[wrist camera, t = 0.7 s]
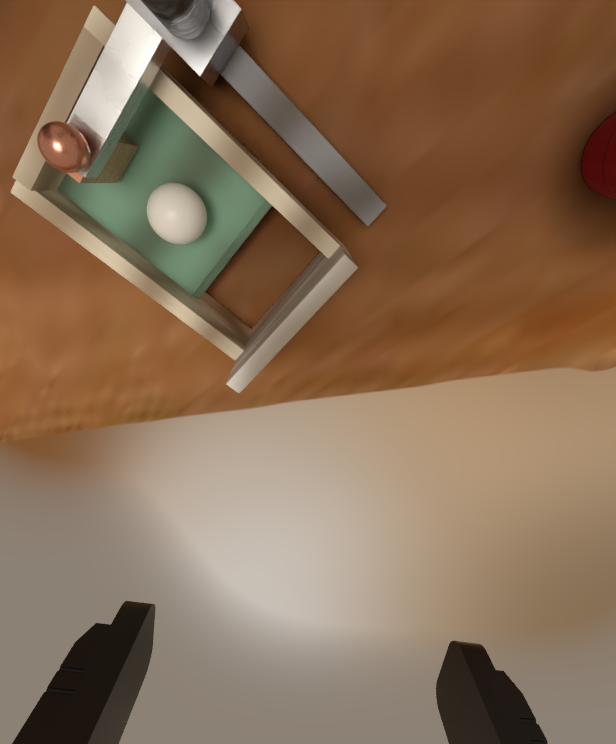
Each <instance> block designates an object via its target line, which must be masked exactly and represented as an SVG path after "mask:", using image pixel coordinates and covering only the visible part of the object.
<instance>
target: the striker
mask: <svg viewBox="0 0 616 744" xmlns="http://www.w3.org/2000/svg"><path fill="white" fill-rule="evenodd" d="M125 1H126V2H127V4H126V6H125V8H124V10H123V12H122V14H121V16H120V18H119V20H118V22H117V24H116V26H115V28H114V30H113V32H112V34H111V36H110V38H109V40H108V42H107V44H106V46H105V48H104V50H103V52H102V54H101V56H100V58H99V60H98V62H97V64H96V66H95V68H94V70H93V72H92V74H91V76H90V78H89V80H88V82H87V84H86V86H85V88H84V90H83V92H82V94H81V96H80V98H79V100H78V101H77V103H76V105H75V107H74V109H73V111H72V113H71V115H70V117H69V119H68V121H67V123H64V122H60V121H53V122H49V123H47V124H45V125H44V126H42V127H41V129H40V131H39V133H38V136H37V143H38V147H39V150H40V152H41V154H42V156H43V157H44V159H45V160H46V161H47V162H48V163H49V164H50V165H51V166H53V167H54V168H56V169H58V170H60V171H63V172H66V173H67V174H69V175H70V176H71V177H72V178H74V179H75V180H76V181H77V182H79V183H118V182H119V180H120V178H121V177H122V175H123V173H124V172H125V170H126V168H127V167H128V165H129V163H130V162H131V160H132V158H133V156H134V155H135V153H136V151H137V150H138V148H139V146H138V145H137V144H136V143H135V142H134V141H132V140H131V139H130V138H129V137H128V136H127V135H126V134H125V133H123V132H124V131H125V129H126V127H127V125H128V124H129V122H130V120H131V118H132V117H133V115H134V113H135V111H136V110H137V108H138V106H139V104H140V103H141V101H142V99H143V97H144V96H145V94H146V92H147V90H148V88H149V87H150V85H151V83H152V81H153V80H154V78H155V76H156V74H157V73H158V71H159V69H160V67H161V66H162V64H163V62H164V60H165V59H166V57H167V55H168V53H169V51H170V50H171V48H173V49H174V50H175V51H176V52H177V54H178V55H179V56H180V57H181V58H182V59H183V60H184V61H185V62H186V63H187V64H188V65H189V66H190V67H191V68H192V69H193V70H194V71H195V72H196V73H197V74H198V75H199V76H200V77H201V78H202V79H203V80H204V81H205V82H206V83H207V84H208V85H209V86H210V87H211V88H212V86H213V85H214V83H215V82H216V80H217V78H218V77H219V75H220V74H221V72H222V71H223V69H224V67H225V66H226V64H227V63H228V61H229V59H230V58H231V56H232V55H233V53H234V51H235V50H236V48H237V47H238V45H239V44H240V42H241V40H242V39H243V37H244V36H245V34H246V32H247V31H248V29H249V28H248V26H247V23H246V20H245V18H244V15H243V12H242V9H241V8H240V7H239V6H238V5H237V3H236V2H235V1H234V0H125Z"/></svg>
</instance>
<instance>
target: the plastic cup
mask: <svg viewBox="0 0 616 744" xmlns="http://www.w3.org/2000/svg"><path fill="white" fill-rule="evenodd" d="M581 167H582V175H583V179H584V180H585V182H586V183H587V185H588V186H589V187H590V188H591V189H593V191H595V192H597V193H600V194H602V195H604V196H607V197H610V198H613V199H616V112H615V113H614V114H613V115H612V116H610V117H608V118H607V119H606V120H605V121H604V122H603V123H602V124H601V125H600V126H599V127H598V128H597V129H596V130H595V131H594V132H593V134H592V136H591V137H590V139H589V141H588V143H587V144H586V146H585V149H584V153H583V157H582V161H581Z"/></svg>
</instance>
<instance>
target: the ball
mask: <svg viewBox="0 0 616 744" xmlns="http://www.w3.org/2000/svg"><path fill="white" fill-rule="evenodd" d="M147 217H148V220H149V223H150V225H151V227H152V228H153V230H154V231H155V232H156V233H157V234H158V235H159V236H160V237H161V238H162V239H164V240H166V241H167V242H170V243H173V244H179V245H183V244H188V243H191V242H194V241H195V240H197V239H198V238H199V237H200V236H201V235H202V233H203V232H204V230H205V227H206V224H207V212H206V208H205V205H204V203H203V201H202V199H201V198H200V196H199V195H198V194H197V193H196V192H195V191H194V190H192V189H191V188H190V187H188V186H186V185H183V184H180V183H166V184H163V185H161V186H159V187H158V188H156V189H155V190H154V191H153V192H152V194H151V195H150V197H149V199H148V203H147Z"/></svg>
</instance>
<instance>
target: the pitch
mask: <svg viewBox="0 0 616 744" xmlns="http://www.w3.org/2000/svg"><path fill="white" fill-rule="evenodd" d="M115 26H116V23H115V22H114V21H113V20H111V19H110V18H109V17H108V16H107V15H105V14H104V13H103V12H102V11H101V10H99V9H98V8H97V7H96V6H95V5H94V6H93V8H92V10H91V12H90V14H89V16H88V18H87V21H86V23H85V25H84V27H83V29H82V31H81V33H80V35H79V37H78V40H77V42H76V44H75V46H74V48H73V50H72V52H71V54H70V56H69V59H68V61H67V63H66V65H65V67H64V69H63V71H62V73H61V75H60V78H59V80H58V82H57V84H56V86H55V88H54V90H53V92H52V94H51V96H50V99H49V101H48V103H47V105H46V107H45V109H44V111H43V113H42V115H41V118H40V120H39V122H38V124H37V126H36V128H35V130H34V132H33V134H32V137H31V139H30V141H29V143H28V145H27V147H26V149H25V151H24V153H23V156H22V158H21V160H20V162H19V164H18V166H17V168H16V170H15V172H14V175H13V178H14V179H15V180H16V182H15V184H14V186H13V188H12V190H11V193H12V194H14V195H15V196H16V197H18V198H19V199H20V200H22V201H23V202H24V203H26V204H27V205H28V206H30V207H31V208H32V209H34V210H35V211H36V212H38V213H39V214H40V215H42V216H43V217H44V218H46V219H47V220H48V221H50V222H51V223H52V224H54V225H55V226H56V227H58V228H59V229H60V230H62V231H63V232H64V233H66V234H67V235H68V236H70V237H71V238H72V239H74V240H75V241H76V242H78V243H79V244H80V245H82V246H83V247H84V248H86V249H87V250H88V251H90V252H91V253H92V254H94V255H95V256H96V257H98V258H99V259H100V260H102V261H103V262H104V263H106V264H107V265H108V266H110V267H111V268H112V269H114V270H115V271H116V272H118V273H119V274H120V275H122V276H123V277H124V278H126V279H127V280H128V281H130V282H131V283H132V284H134V285H135V286H136V287H138V288H139V289H140V290H142V291H143V292H144V293H146V294H147V295H148V296H150V297H151V298H152V299H154V300H155V301H156V302H158V303H159V304H160V305H162V306H163V307H164V308H166V309H167V310H168V311H170V312H171V313H172V314H174V315H175V316H176V317H178V318H179V319H180V320H182V321H183V322H184V323H186V324H187V325H188V326H190V327H191V328H192V329H194V330H195V331H196V332H198V333H199V334H200V335H202V336H203V337H204V338H206V339H207V340H208V341H210V342H211V343H212V344H214V345H215V346H216V347H218V348H219V349H220V350H222V351H223V352H224V353H226V354H227V355H228V356H230V357H231V358H232V359H234V360H235V363H234V365H233V368H232V370H231V373H230V375H229V378H228V381H227V383H226V384H227V385H228V386H229V387H231V388H232V389H234V390H235V391H236V392H238V393H240V392H241V391H242V390H243V389H244V388H245V387H246V386H247V385H248V384H249V383H250V382H251V380H252V379H253V378H254V377H255V376H256V375H257V374H258V373H259V372H260V371H261V370H262V369H263V368H264V367H265V366H266V365H267V364H268V362H269V361H270V360H271V359H272V358H273V357H274V356H275V355H276V354H277V353H278V352H279V351H280V350H281V349H282V348H283V347H284V346H285V345H286V343H287V342H288V341H289V340H290V339H291V338H292V337H293V336H294V335H295V334H296V333H297V332H298V331H299V330H300V329H301V328H302V327H303V325H304V324H305V323H306V322H307V321H308V320H309V319H310V318H311V317H312V316H313V315H314V314H315V313H316V312H317V311H318V310H319V309H320V308H321V306H322V305H323V304H324V303H325V302H326V301H327V300H328V299H329V298H330V297H331V296H332V295H333V294H334V293H335V292H336V291H337V290H338V288H339V287H340V286H341V285H342V284H343V283H344V282H345V281H346V280H347V279H348V278H349V277H350V276H351V275H352V274H353V273H354V272H355V271H356V269H357V268H358V267H357V265H356V263H355V262H354V260H353V258H352V257H351V255H350V254H349V252H348V250H347V249H346V247H345V245H343V244H342V243H341V242H340V241H339V240H338V239H337V238H336V237H335V236H334V235H333V234H332V233H331V232H330V231H329V230H328V229H327V228H326V227H325V226H324V225H323V224H322V223H321V222H320V221H319V220H318V219H317V218H316V217H315V216H314V215H313V214H312V213H311V212H310V211H309V210H308V209H307V208H306V207H305V206H304V205H303V204H302V203H301V202H300V201H299V200H298V199H297V198H296V197H295V196H294V195H293V194H292V193H291V192H290V191H289V190H288V189H287V188H286V187H285V186H284V185H283V184H282V183H281V182H280V181H279V180H277V179H276V178H275V177H274V176H273V175H272V174H271V173H270V172H269V171H268V170H267V169H266V168H265V167H264V166H263V165H262V164H261V163H260V162H259V161H258V160H257V159H256V158H255V157H254V156H253V155H252V154H251V153H250V152H249V151H248V150H247V149H246V148H245V147H244V146H243V145H242V144H241V143H240V142H239V141H238V140H237V139H236V138H235V137H234V136H233V135H232V134H231V133H230V132H229V131H228V130H227V129H226V128H225V127H224V126H223V125H222V124H221V123H220V122H219V121H218V120H217V119H216V118H215V117H214V116H212V115H211V114H210V113H209V112H208V111H207V110H206V109H205V108H204V107H203V106H202V105H201V104H200V103H199V102H198V101H197V100H196V99H195V98H194V97H193V96H192V95H191V94H190V93H189V92H188V91H187V90H186V89H185V88H184V87H183V86H182V85H181V84H180V83H179V82H178V81H177V80H176V79H175V78H174V77H173V76H172V75H171V74H170V73H169V72H168V71H167V70H166V69H165V68H164V67H163V66H161V67H160V69H159V71H158V73H157V74H156V76H155V78H154V80H153V81H152V83H151V85H150V87H149V88H148V90H147V92H146V94H145V96H144V97H143V99H142V101H141V103H140V104H139V106H138V108H137V110H136V111H135V113H134V115H133V117H132V118H131V120H130V122H129V124H128V125H127V127H126V129H125V131H124V132H123V133H125V134H126V135H127V136H128V137H129V138H130V139H131V140H132V141H134V142H135V143H136V144H137V145H138V146H139V148H138V150H137V151H136V153H135V155H134V156H133V158H132V160H131V162H130V163H129V165H128V167H127V168H126V170H125V172H124V173H123V175H122V177H121V178H120V180H119V182H118V183H79V182H77V181H76V180H75V179H74V178H72V177H71V176H70V175H69V174H67V173H66V172H63V171H60V170H58V169H56V168H54V167H53V166H51V165H50V164H49V163H48V162H47V161H46V160H45V159H44V157H43V156H42V154H41V152H40V150H39V147H38V143H37V136H38V133H39V131H40V129H41V127H42V126H44V125H45V124H47V123H49V122H53V121H60V122H64V123H67V121H68V119H69V117H70V115H71V113H72V111H73V109H74V107H75V105H76V103H77V101H78V100H79V98H80V96H81V94H82V92H83V90H84V88H85V86H86V84H87V82H88V80H89V78H90V76H91V74H92V72H93V70H94V68H95V66H96V64H97V62H98V60H99V58H100V56H101V54H102V52H103V50H104V48H105V46H106V44H107V42H108V40H109V38H110V36H111V34H112V32H113V30H114V28H115ZM220 75H221V76H222V77H223V78H224V80H225V81H226V82H227V83H228V84H229V85H230V86H231V87H232V88H233V89H234V90H235V91H236V92H237V93H238V94H239V95H240V96H241V97H242V98H243V99H244V100H245V101H246V102H247V103H248V104H249V105H250V106H251V107H252V108H253V110H254V111H255V112H256V113H257V114H258V115H259V116H260V117H261V118H262V119H263V120H264V121H265V122H266V123H267V124H268V125H269V126H270V127H271V128H272V129H273V130H274V131H275V132H276V133H277V134H278V135H279V136H280V137H281V138H282V140H283V141H284V142H285V143H286V144H287V145H288V146H289V147H290V148H291V149H292V150H293V151H294V152H295V153H296V154H297V155H298V156H299V157H300V158H301V159H302V160H303V161H304V162H305V163H306V164H307V165H308V166H309V167H310V168H311V170H312V171H313V172H314V173H315V174H316V175H317V176H318V177H319V178H320V179H321V180H322V181H323V182H324V183H325V184H326V185H327V186H328V187H329V188H330V189H331V190H332V191H333V192H334V193H335V194H336V195H337V196H338V197H339V199H340V200H341V201H342V202H343V203H344V204H345V205H346V206H347V207H348V208H349V209H350V210H351V211H352V212H353V213H354V214H355V215H356V216H357V217H358V218H359V219H360V220H361V221H362V222H363V223H364V224H365V225H366V226H369V225H370V224H371V223H372V222H373V220H374V219H375V218H376V217H377V216H378V215H379V214H380V213H381V212H382V211H383V210H384V208H385V207H386V206H387V205H386V204H385V203H384V202H383V201H382V200H381V199H380V198H379V197H378V196H377V195H376V193H375V192H374V191H373V190H372V189H371V188H370V187H369V186H368V185H367V184H366V183H365V181H364V180H363V179H362V178H361V177H360V176H359V175H358V174H357V173H356V172H355V171H354V170H353V168H352V167H351V166H350V165H349V164H348V163H347V162H346V161H345V160H344V159H343V158H342V156H341V155H340V154H339V153H338V152H337V151H336V150H335V149H334V148H333V147H332V146H331V145H330V143H329V142H328V141H327V140H326V139H325V138H324V137H323V136H322V135H321V134H320V133H319V131H318V130H317V129H316V128H315V127H314V126H313V125H312V124H311V123H310V122H309V121H308V119H307V118H306V117H305V116H304V115H303V114H302V113H301V112H300V111H299V110H298V109H297V108H296V106H295V105H294V104H293V103H292V102H291V101H290V100H289V99H288V98H287V97H286V96H285V94H284V93H283V92H282V91H281V90H280V89H279V88H278V87H277V86H276V85H275V84H274V83H273V81H272V80H271V79H270V78H269V77H268V76H267V75H266V74H265V73H264V72H263V71H262V69H261V68H260V67H259V66H258V65H257V64H256V63H255V62H254V61H253V60H252V59H251V58H250V56H249V55H248V54H247V53H246V52H245V51H244V50H243V49H242V48H241V47H240V46H239V45H238V47H237V48H236V50H235V51H234V53H233V55H232V56H231V58H230V59H229V61H228V63H227V64H226V66H225V67H224V69H223V71H222V72H221V74H220ZM166 183H180V184H183V185H186V186H188V187H190V188H191V189H192V190H194V191H195V192H196V193H197V194H198V195H199V196H200V198H201V199H202V201H203V203H204V205H205V208H206V212H207V224H206V227H205V230H204V232H203V233H202V235H201V236H200V237H199V238H198V239H197V240H195V241H194V242H191V243H188V244H183V245H179V244H173V243H170V242H167V241H166V240H164V239H162V238H161V237H160V236H159V235H158V234H157V233H156V232H155V231H154V230H153V228H152V227H151V225H150V223H149V220H148V217H147V203H148V199H149V197H150V195H151V194H152V192H153V191H154V190H155V189H156V188H158V187H159V186H161V185H163V184H166ZM272 206H273V207H274V208H275V209H276V210H277V211H279V212H280V213H281V214H282V215H283V216H284V217H285V218H286V219H287V220H288V221H289V222H290V223H291V224H292V225H293V226H294V227H295V228H296V229H297V230H299V231H300V232H301V233H302V234H303V235H304V236H305V237H306V238H307V239H308V240H309V241H310V242H311V243H312V244H313V245H314V246H315V247H316V248H317V249H319V250H320V253H319V254H318V255H317V256H316V257H315V258H314V259H313V261H312V262H311V263H310V264H309V265H308V266H307V267H306V268H305V270H304V271H303V272H302V273H301V274H300V275H299V276H298V278H297V279H296V280H295V281H294V282H293V283H292V284H291V285H290V287H289V288H288V289H287V290H286V291H285V292H284V293H283V295H282V296H281V297H280V298H279V299H278V300H277V301H276V302H275V304H274V305H273V306H272V307H271V308H270V309H269V310H268V312H267V313H266V314H265V315H264V316H263V317H262V318H261V319H260V321H259V322H258V323H257V324H256V325H255V326H254V327H253V328H252V329H251V328H250V327H249V326H247V325H246V324H245V323H244V322H242V321H241V320H240V319H239V318H237V317H236V316H235V315H234V314H232V313H231V312H230V311H229V310H227V309H226V308H225V307H224V306H222V305H221V304H220V303H219V302H217V301H216V300H215V299H214V298H212V297H211V296H210V295H208V294H207V293H206V290H207V289H208V288H209V287H210V285H211V284H212V283H213V281H214V280H215V279H216V278H217V276H218V275H219V274H220V273H221V271H222V270H223V269H224V267H225V266H226V265H227V264H228V262H229V261H230V260H231V258H232V257H233V256H234V255H235V253H236V252H237V251H238V250H239V248H240V247H241V246H242V244H243V243H244V242H245V241H246V239H247V238H248V237H249V236H250V234H251V233H252V232H253V230H254V229H255V228H256V227H257V225H258V224H259V223H260V221H261V220H262V219H263V218H264V216H265V215H266V214H267V213H268V211H269V210H270V209H271V207H272Z"/></svg>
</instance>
